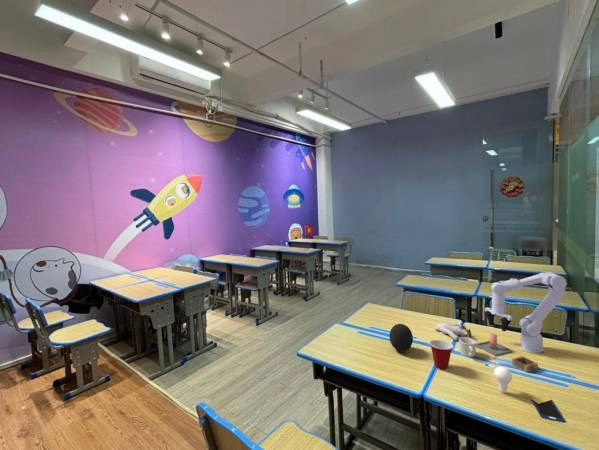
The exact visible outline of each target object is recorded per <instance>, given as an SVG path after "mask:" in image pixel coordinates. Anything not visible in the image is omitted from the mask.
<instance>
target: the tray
mask: <svg viewBox="0 0 599 450" xmlns="http://www.w3.org/2000/svg"><path fill="white" fill-rule="evenodd" d="M476 348H478V349H479V350H483V351H485V352H487V353H489V354H491V355H492V356H495V357H497V356H498V357H499V356H501V355H506V354H510V353H513V352H514V351H513V349H511V348H509V347H506V346H505V345H502V344H500V343H498V342H497V350H493V349H491V348H490V340H488V341H482V342H478V343H477V342H476Z"/></svg>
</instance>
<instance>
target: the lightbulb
mask: <svg viewBox="0 0 599 450" xmlns="http://www.w3.org/2000/svg"><path fill="white" fill-rule="evenodd" d="M493 374H494V377H495V379H496V381H497V382H498V383H497V385H498V390H499V391H500V392H501V393H502V394H504V393H507V390H508V385H509V383H511V381H512V379H513V375H512V372H511V371H510V370H509V368H506V367H505V366H496V367H495V369H494V371H493Z"/></svg>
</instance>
